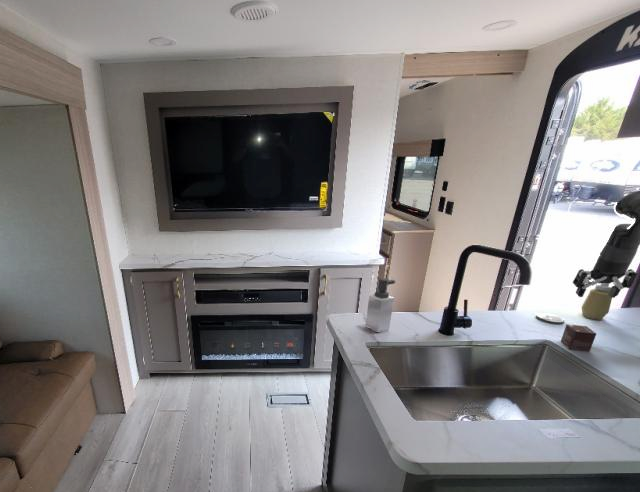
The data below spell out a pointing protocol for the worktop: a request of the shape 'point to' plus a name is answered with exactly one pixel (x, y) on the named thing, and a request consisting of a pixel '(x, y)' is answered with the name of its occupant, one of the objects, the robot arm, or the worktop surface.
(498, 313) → the worktop surface
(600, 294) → the squeeze bottle
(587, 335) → the box
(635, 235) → the robot arm
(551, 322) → the white flat disc
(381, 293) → the soap dispenser
